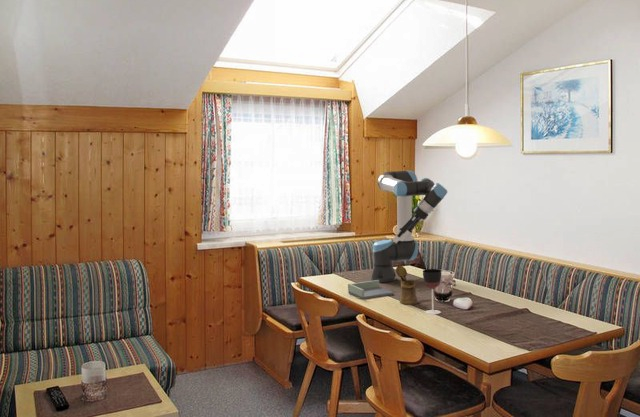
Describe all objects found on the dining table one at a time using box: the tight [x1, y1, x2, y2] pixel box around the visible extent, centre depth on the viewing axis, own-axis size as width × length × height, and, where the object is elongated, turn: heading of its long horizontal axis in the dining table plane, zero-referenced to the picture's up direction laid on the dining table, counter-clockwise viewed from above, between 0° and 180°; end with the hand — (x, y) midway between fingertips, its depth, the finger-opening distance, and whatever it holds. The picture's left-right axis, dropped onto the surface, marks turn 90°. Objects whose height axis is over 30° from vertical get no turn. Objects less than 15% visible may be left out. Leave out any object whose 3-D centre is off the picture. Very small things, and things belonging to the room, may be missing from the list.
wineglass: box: [422, 268, 442, 315], centre depth 286 cm, size 8×9×20 cm
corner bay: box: [347, 280, 394, 300], centre depth 326 cm, size 19×16×5 cm
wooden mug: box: [395, 264, 419, 306], centre depth 307 cm, size 9×14×18 cm, turn 23°
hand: (397, 240), depth 315 cm, fingers open, 13 cm apart
